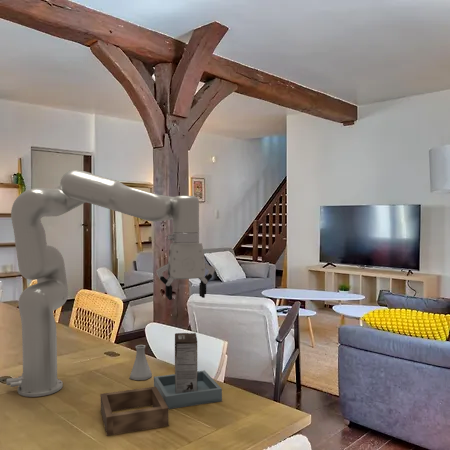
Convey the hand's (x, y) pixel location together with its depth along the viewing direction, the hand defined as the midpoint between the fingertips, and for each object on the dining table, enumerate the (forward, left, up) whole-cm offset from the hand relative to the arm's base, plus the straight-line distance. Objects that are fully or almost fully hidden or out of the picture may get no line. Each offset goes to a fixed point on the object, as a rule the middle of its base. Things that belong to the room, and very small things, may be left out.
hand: (186, 298), depth 136 cm
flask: (-10, +19, -28) cm, 36 cm away
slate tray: (0, 0, -28) cm, 28 cm away
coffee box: (0, 0, -28) cm, 28 cm away
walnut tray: (-17, -10, -28) cm, 34 cm away
